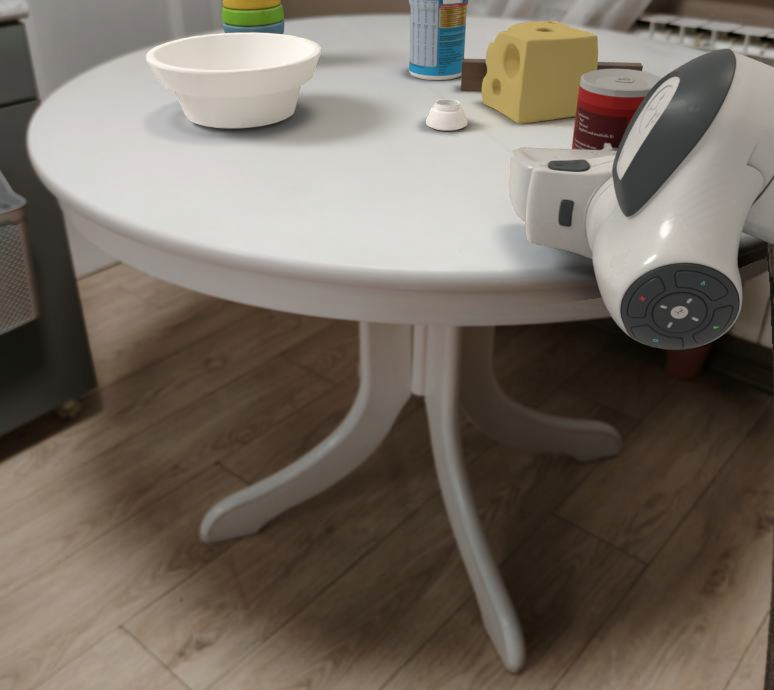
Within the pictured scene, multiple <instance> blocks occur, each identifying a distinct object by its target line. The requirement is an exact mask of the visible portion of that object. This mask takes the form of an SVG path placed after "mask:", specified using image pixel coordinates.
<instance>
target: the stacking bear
mask: <svg viewBox="0 0 774 690" xmlns="http://www.w3.org/2000/svg"><path fill="white" fill-rule="evenodd" d="M283 7H284V6H283V4H282V3H281V0H222V8H221V20H222V29H223V32H224V33H252V32H253V33H274V34H284V33H285V13H284V8H283Z"/></svg>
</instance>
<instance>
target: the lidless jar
mask: <svg viewBox="0 0 774 690" xmlns="http://www.w3.org/2000/svg"><path fill="white" fill-rule="evenodd" d="M425 124H426V125H427V126H428V127H429V128H431V129H432V130H433V129H434V130H437V131H443V132H452V131H457V130H460V129H463V128H465V127H467V126H468V118H467V116H466V113H465V110H464V109H463V107H461V101H459V100H457V99H453V98H441V99H437V100H435V101H434V105H433V106H432V107H431V109H430V111H429V113H428V115H427V116H426V119H425Z"/></svg>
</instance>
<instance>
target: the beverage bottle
mask: <svg viewBox="0 0 774 690" xmlns="http://www.w3.org/2000/svg"><path fill="white" fill-rule="evenodd" d="M469 2H470V1H469V0H408V4H409V5H408V6H409V7H410V15H409V16H410V17H409V20H410V23H409V24H410V25H409V30H410V31H409V37H410V38H409V61H408V71H409V74H410V75H411V76H412V77H414V78H416V79H420V80H425V81H449V80H454V79H458V78H461V73H462V60H463V59H465V47H466V46H465V45H466V29H467V27H466V26H467V14H468V13H467V11H468V5H469Z"/></svg>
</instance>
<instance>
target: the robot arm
mask: <svg viewBox="0 0 774 690" xmlns="http://www.w3.org/2000/svg"><path fill="white" fill-rule="evenodd" d="M661 78H662V79H660V80H659V81H658V82H657V83H656V84H655V85H654V86H653V87H652V89H651V90H650V91H649V92H648V94H647V95H646V97H645V98H644V99H643V101H642V103H641V104H640V106H639V107H638V109H637V110H636V112H635V114H634V115H633V117H632V119H631V121H630V123H629V125H628V127H627V129H626V131H625V133H624V135H623V137H622V140H621V142H620V144H617V143H604V148H603V149H602V150H582V149H572V148H551V147H550V148H549V147H548V148H546V147H545V148H544V147H518V148H515V149H513V150H511V153H510V160H509V170H508V171H509V172H508V194H509V200H510V203H511V205H512V209H513V211H514V213H515V214H516V216H517V217H518V218H519V219H520V220H521V221H523V222H524V223H525V235H526V240H527V242H530V243H531V244H534V245H536V246H537V245H538V246H542V247H547V248H552V249H557V250H561V251H565V252H569V253H572V254H575V255H578V256H581V257H584V258H587V259H589V260H592V266H593V271H594V276H595V279H596V283H597V288H598V290H599V293H600V296H601V298H602V299H601V300H602V301H603V304H604V306H605V308H606V310H607V312H608V313H609V315H610V317H611V318H612V320H613V321H614V322H615V324H616V325H617V326H618V327H619V328H620V329H621V330H622V332H624V333H625V334H626V335H627V336H628V337H630V338H631V339H633V340H634V341H636V342H638V343H640V344H643V345H646V346H648V347H651V348H655V349H656V348H657V349H659V350H660V349H661V350H666V351H681V350H689V349H694V348H698V347H702V346H704V345H707V344H709V343H712V342H714V341H716V340H717V339H720V337H722V336H723V335H725V334H726V333H727V332H728V331H730V329H731V328H732V327H733V326H734V324H735V323H736V321H737V320H738V318H739V316H740V313H741V311H742V305H743V297H744V295H743V283H742V278H741V273H740V270H739V269H740V268H739V266H738V263H739V261H738V256H739V248H740V242H741V238H742V233H743V234H746V235H748V236H750V237H753V238H755V239H758V240H759V241H763V242H765V243H768V244H771V245H773V244H774V66H772V65H770V64H766V63H764V62H762V61H760V60H756V59H754V58H752V57H749V56H747V55H744V54H741V53H739V52H736V51H733V50H732V49H730V48H720V49H716V50H712V51H709V52H707V53H704V54H701V55H699V56H697V57H695V58H692V59H691V60H689V61H686V62H685V63H683V64H682V65H680V66H678V67H676V68H675V69H673V70H672V71H670V72H668V73H667V74H666V75H664V76H663V77H661Z"/></svg>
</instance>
